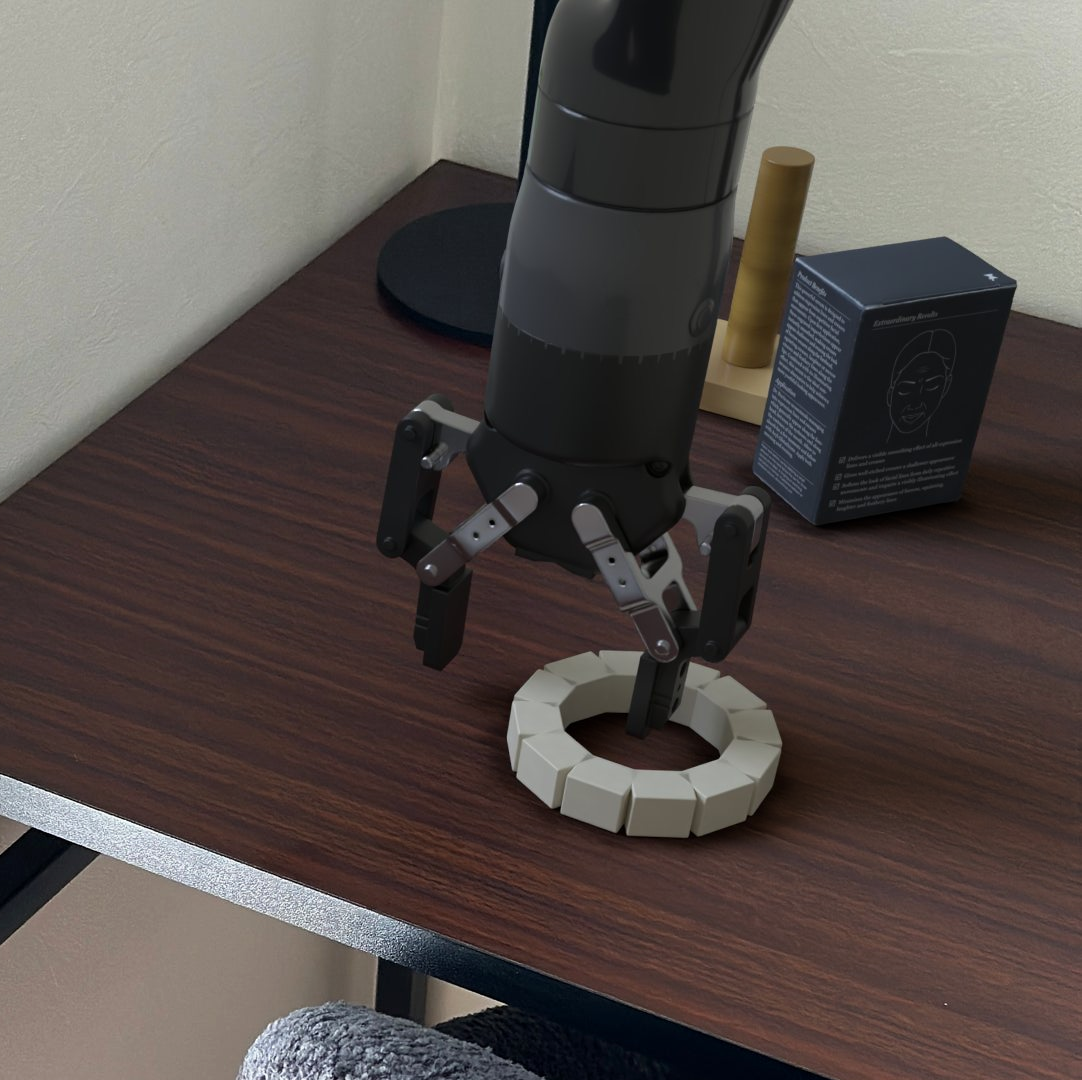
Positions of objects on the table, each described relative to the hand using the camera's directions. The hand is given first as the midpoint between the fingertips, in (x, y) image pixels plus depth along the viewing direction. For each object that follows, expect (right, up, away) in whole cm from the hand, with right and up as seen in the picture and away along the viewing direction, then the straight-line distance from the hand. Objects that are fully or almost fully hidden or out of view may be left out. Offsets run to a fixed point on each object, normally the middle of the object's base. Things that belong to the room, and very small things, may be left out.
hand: (539, 693), depth 92 cm
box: (+17, +11, +16) cm, 26 cm away
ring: (+4, -3, -1) cm, 5 cm away
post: (+14, +18, +24) cm, 33 cm away
